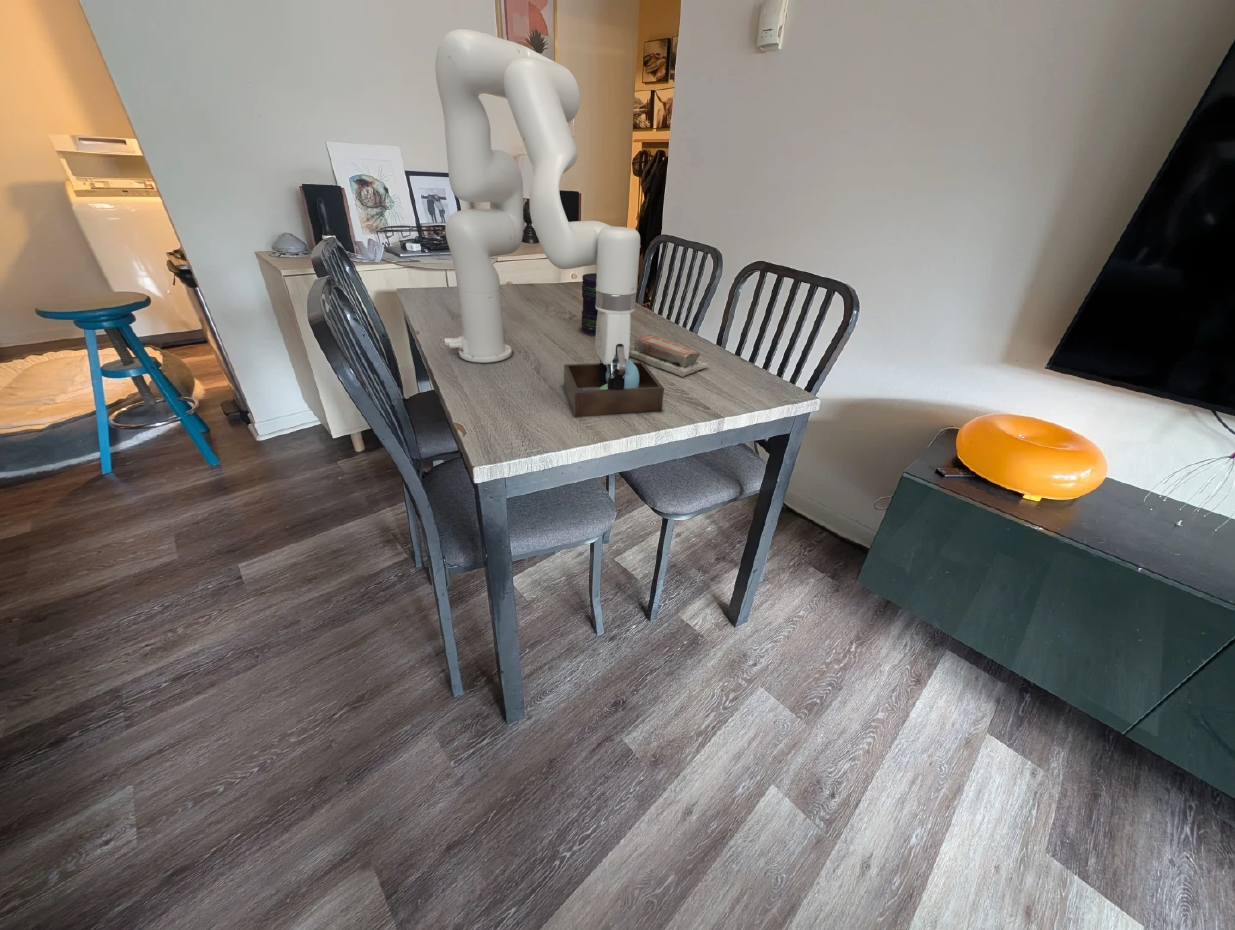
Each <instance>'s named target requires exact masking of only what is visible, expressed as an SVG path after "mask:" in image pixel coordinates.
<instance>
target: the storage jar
mask: <svg viewBox="0 0 1235 930" xmlns="http://www.w3.org/2000/svg"><path fill="white" fill-rule="evenodd" d="M596 276H597V272H596V273H595V272H593V273H585V274H582V276H581V278H582V282H581V297H582V310H581V317H580V318H581V319H580V322H581V332H582V333H583V334H585V335H588V336H594V337H596V324H597V314H598V310H597V309H596V308H595V305H596V304H595V303H596Z"/></svg>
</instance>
